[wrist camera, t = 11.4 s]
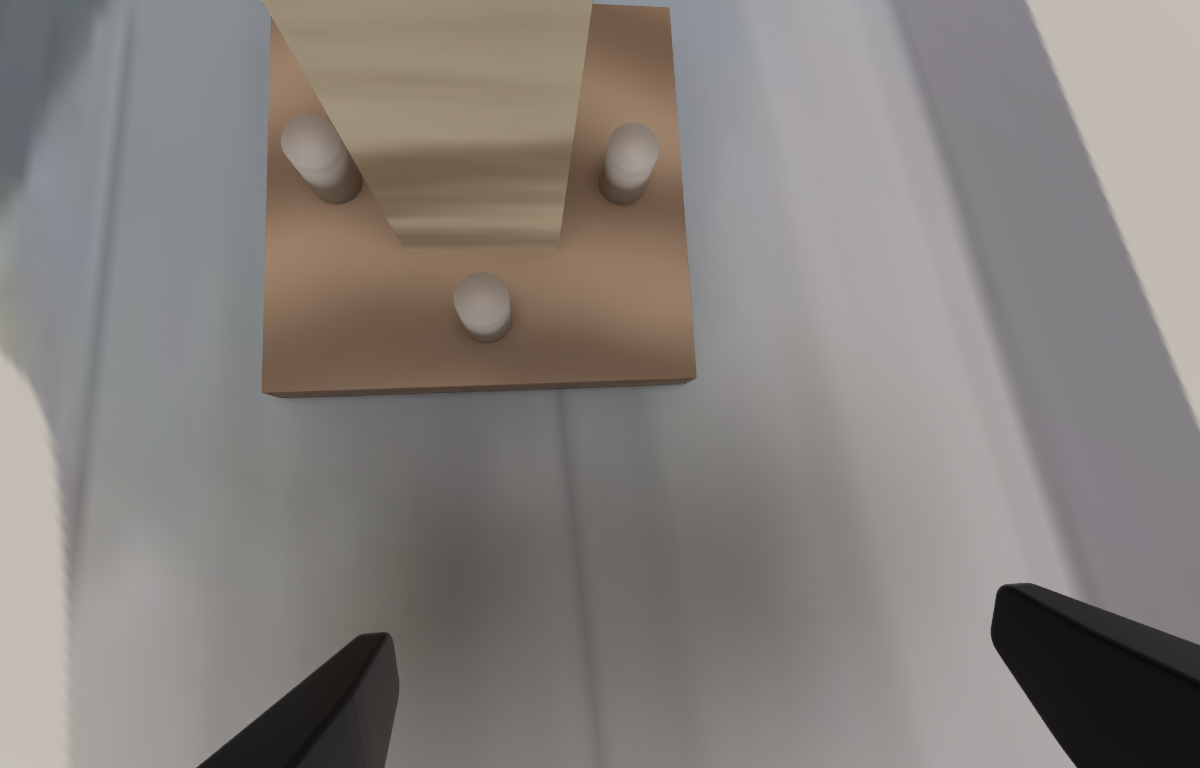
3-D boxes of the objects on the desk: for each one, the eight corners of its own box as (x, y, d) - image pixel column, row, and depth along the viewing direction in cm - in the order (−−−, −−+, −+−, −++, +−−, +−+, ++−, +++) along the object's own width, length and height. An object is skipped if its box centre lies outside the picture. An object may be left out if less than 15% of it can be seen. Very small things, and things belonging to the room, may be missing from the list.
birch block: (557, 253, 20) (622, -204, 6) (406, 253, 20) (119, -251, 6) (551, 117, 21) (599, -562, 7) (406, 113, 20) (145, -639, 6)
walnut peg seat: (685, 383, 22) (719, 365, 18) (281, 398, 20) (220, 381, 16) (660, 36, 23) (687, -51, 20) (288, 20, 22) (236, -78, 18)
